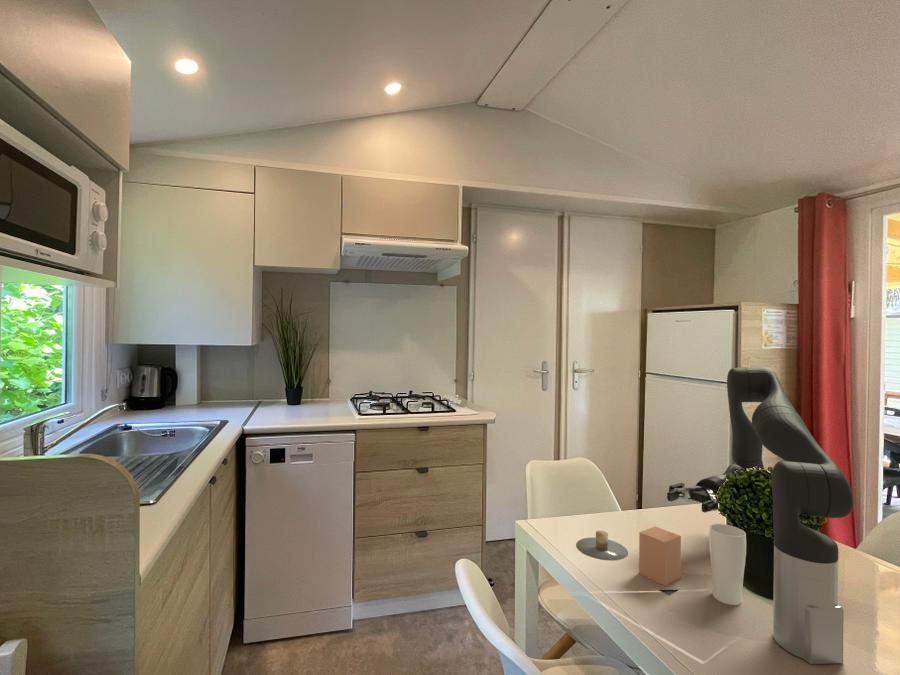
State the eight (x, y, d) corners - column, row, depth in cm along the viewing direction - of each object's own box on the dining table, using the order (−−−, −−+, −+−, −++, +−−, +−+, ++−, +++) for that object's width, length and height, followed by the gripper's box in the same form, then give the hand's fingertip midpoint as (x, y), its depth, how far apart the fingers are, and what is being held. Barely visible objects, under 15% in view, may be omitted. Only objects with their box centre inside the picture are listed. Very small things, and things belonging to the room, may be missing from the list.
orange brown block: (680, 579, 104) (680, 535, 104) (665, 587, 100) (665, 542, 100) (654, 567, 109) (654, 526, 109) (638, 574, 105) (639, 532, 105)
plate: (637, 563, 112) (637, 559, 112) (586, 563, 111) (586, 560, 111) (614, 540, 125) (614, 537, 125) (569, 540, 124) (569, 537, 124)
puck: (609, 550, 116) (609, 535, 117) (598, 551, 116) (598, 535, 116) (604, 545, 119) (605, 530, 120) (593, 545, 119) (594, 530, 119)
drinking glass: (751, 611, 92) (752, 538, 92) (715, 606, 94) (716, 534, 94) (737, 593, 99) (738, 525, 99) (703, 589, 100) (704, 522, 100)
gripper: (691, 469, 126) (658, 479, 117) (747, 484, 114) (715, 496, 105) (690, 496, 126) (658, 508, 117) (746, 513, 114) (715, 528, 105)
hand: (685, 502), depth 111 cm, fingers open, 8 cm apart
